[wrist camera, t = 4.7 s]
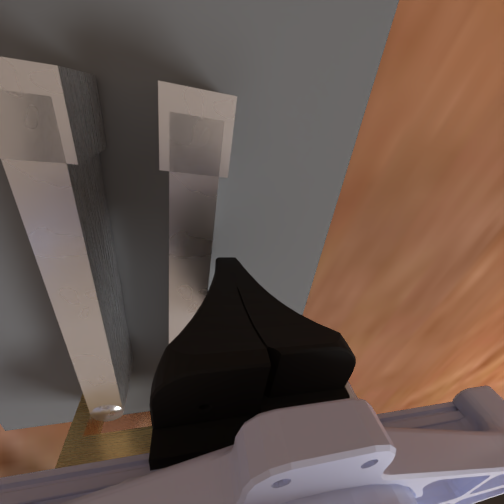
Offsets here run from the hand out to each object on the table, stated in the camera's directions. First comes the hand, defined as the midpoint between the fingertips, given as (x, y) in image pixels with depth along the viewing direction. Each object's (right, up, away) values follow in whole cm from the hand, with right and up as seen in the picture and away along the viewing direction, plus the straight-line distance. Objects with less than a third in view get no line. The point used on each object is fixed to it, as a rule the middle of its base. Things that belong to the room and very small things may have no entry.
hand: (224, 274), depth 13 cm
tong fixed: (-6, 0, 0) cm, 6 cm away
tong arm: (-2, 0, +1) cm, 2 cm away
